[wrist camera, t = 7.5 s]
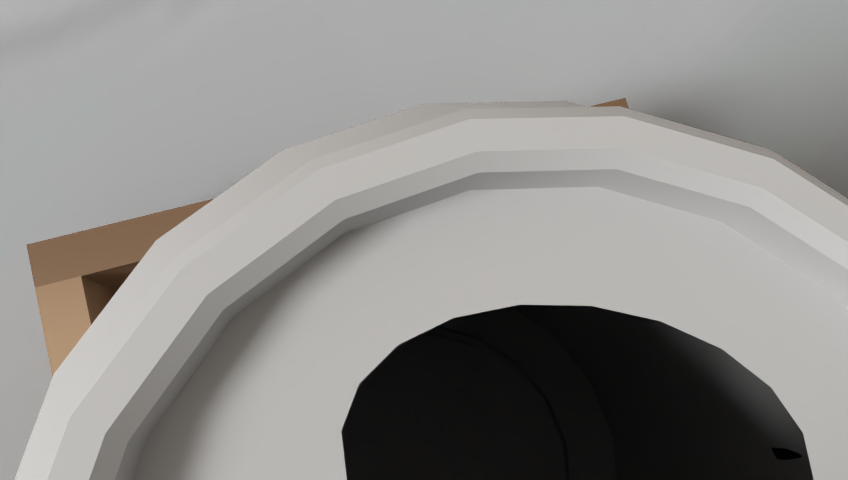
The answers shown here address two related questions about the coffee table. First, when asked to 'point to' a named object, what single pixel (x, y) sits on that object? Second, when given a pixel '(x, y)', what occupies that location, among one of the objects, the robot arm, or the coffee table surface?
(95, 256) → the tray
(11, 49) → the coffee table surface
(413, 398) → the can
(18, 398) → the coffee table surface
